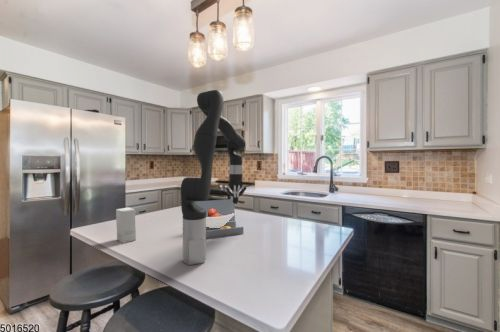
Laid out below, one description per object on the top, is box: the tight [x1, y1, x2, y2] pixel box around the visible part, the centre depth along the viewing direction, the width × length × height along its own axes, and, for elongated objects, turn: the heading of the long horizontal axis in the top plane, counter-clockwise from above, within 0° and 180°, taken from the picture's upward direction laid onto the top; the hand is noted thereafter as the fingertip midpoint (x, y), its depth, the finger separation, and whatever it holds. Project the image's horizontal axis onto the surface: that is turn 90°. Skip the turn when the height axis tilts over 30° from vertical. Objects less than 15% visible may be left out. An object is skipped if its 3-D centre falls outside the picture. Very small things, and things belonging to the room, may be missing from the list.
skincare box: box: [115, 206, 137, 244], centre depth 117 cm, size 8×7×16 cm
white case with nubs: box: [206, 220, 244, 239], centre depth 131 cm, size 13×24×4 cm, turn 114°
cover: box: [194, 198, 236, 222], centre depth 138 cm, size 13×24×1 cm
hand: (235, 203), depth 134 cm, fingers closed
